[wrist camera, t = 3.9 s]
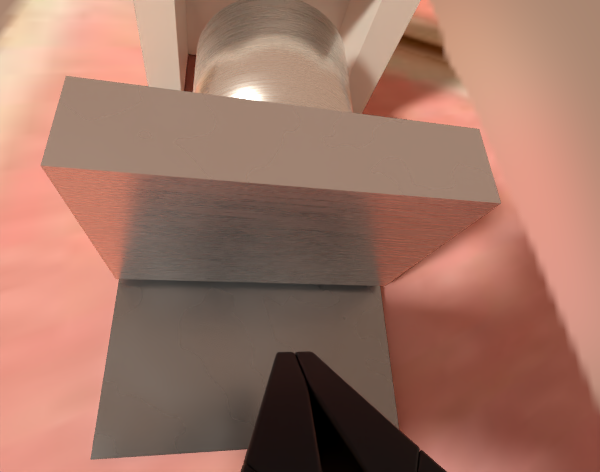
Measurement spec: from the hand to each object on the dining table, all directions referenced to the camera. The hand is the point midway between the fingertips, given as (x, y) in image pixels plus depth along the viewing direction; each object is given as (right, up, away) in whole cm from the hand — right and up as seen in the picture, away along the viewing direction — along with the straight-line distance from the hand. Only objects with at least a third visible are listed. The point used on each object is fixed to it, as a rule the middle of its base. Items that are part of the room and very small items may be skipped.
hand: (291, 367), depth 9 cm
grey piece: (-2, +5, +9) cm, 10 cm away
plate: (-2, +2, +8) cm, 9 cm away
